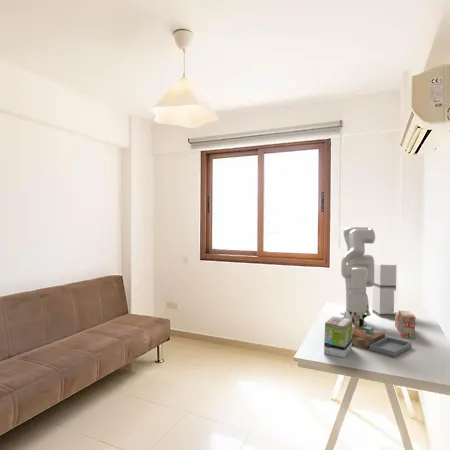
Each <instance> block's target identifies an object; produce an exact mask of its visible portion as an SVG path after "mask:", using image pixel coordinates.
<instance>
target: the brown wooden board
mask: <svg viewBox="0 0 450 450" xmlns="http://www.w3.org/2000/svg"><path fill="white" fill-rule="evenodd" d="M385 337H386V332H381V331H379V330H378V331H377V330H374V329H373V333H371V334H367V333H366V336H364V337H359V336H355V335H354V333H352V346H353V347H357V348H360V349H364V350H369V345H370V344H373V343H375V342H377V341H379V340H381V339H383V338H385Z"/></svg>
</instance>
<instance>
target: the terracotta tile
mask: <svg viewBox="0 0 450 450" xmlns="http://www.w3.org/2000/svg"><path fill="white" fill-rule="evenodd" d="M354 335H355V336H359V337H364V336H366V331H365V330H362V329H356V330H354Z"/></svg>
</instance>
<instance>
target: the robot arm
mask: <svg viewBox="0 0 450 450" xmlns="http://www.w3.org/2000/svg"><path fill="white" fill-rule="evenodd" d="M343 238H344V241H345V243H346V247H347V252H346V253H345V254H344V255H343V256H342V260H341V264H340V268H341V269H340V272H341V273H340V274H341V276H342V278H344V282H345V311H344V310H340V315H341V316H343V317H342V318H346V319H351V320H352V326H354V315H356V314H358V315H360V319H359V327H361V326H363V325H364V323H365V319H366V318H367V317H369V316H371V312H370V309H369V307H370V303H369V297H368V294H367V288H373V285H374V263H375V260H374V259H375V258H374V256H373V255H370V254H365V253H366V250H365V247H366V246H365V244H374V243H375V240H376V233H375V230H374V229H373V228H372V227H366V226H363V227H362V226H361V227H360V226H349V227H348V226H347V227H345V228H344V229H343Z"/></svg>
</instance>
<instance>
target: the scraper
mask: <svg viewBox="0 0 450 450" xmlns="http://www.w3.org/2000/svg"><path fill="white" fill-rule="evenodd" d="M359 319H360V315H358V314H356V315H354V325H352V333H354V330H356V329H361V327H363V326H368V323H367V322H364V325H363V326H361V327H359Z"/></svg>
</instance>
